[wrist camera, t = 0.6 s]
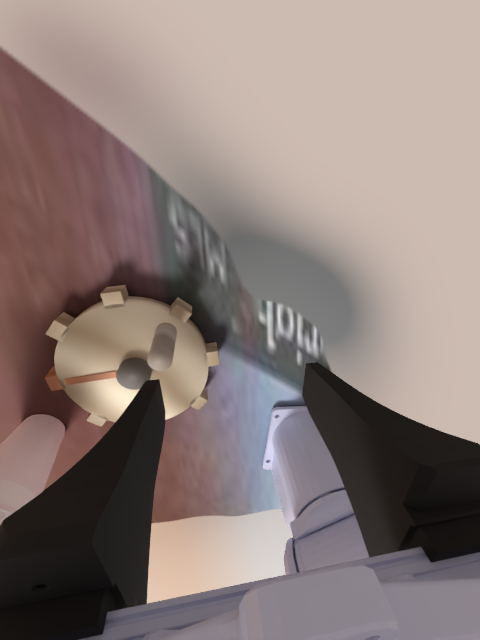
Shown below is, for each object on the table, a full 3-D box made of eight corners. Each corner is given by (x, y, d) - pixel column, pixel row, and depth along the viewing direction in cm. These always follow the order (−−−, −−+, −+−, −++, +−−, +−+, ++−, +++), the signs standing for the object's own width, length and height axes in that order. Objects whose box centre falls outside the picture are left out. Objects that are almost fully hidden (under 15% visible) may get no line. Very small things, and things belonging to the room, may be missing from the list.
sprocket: (162, 438, 28) (155, 491, 23) (21, 378, 23) (-28, 430, 18) (248, 344, 24) (261, 383, 19) (104, 247, 19) (72, 267, 14)
